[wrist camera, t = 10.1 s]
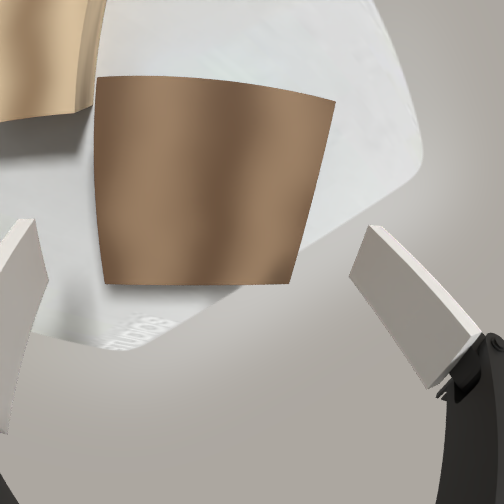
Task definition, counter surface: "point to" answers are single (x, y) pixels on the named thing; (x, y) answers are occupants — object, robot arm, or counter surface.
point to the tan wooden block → (48, 56)
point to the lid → (203, 179)
